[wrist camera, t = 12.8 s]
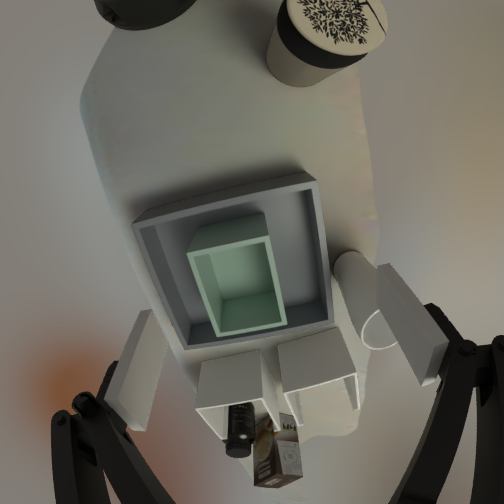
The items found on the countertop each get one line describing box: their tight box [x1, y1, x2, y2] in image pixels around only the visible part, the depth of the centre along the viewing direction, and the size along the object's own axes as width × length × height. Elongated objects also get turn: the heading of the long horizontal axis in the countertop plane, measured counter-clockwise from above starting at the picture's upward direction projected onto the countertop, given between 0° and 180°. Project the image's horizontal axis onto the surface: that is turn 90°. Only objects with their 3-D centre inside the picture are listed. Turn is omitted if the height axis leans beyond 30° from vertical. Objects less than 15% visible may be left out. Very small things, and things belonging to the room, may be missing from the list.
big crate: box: [131, 172, 334, 350], centre depth 39 cm, size 20×22×6 cm
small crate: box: [186, 213, 287, 337], centre depth 37 cm, size 12×9×8 cm
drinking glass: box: [333, 251, 398, 350], centre depth 35 cm, size 7×7×15 cm
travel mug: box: [266, 0, 388, 87], centre depth 22 cm, size 8×8×18 cm
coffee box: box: [253, 413, 303, 488], centre depth 52 cm, size 9×6×16 cm
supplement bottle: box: [222, 402, 256, 458], centre depth 50 cm, size 7×7×12 cm
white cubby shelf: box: [195, 327, 360, 440], centre depth 46 cm, size 25×11×11 cm, turn 108°
